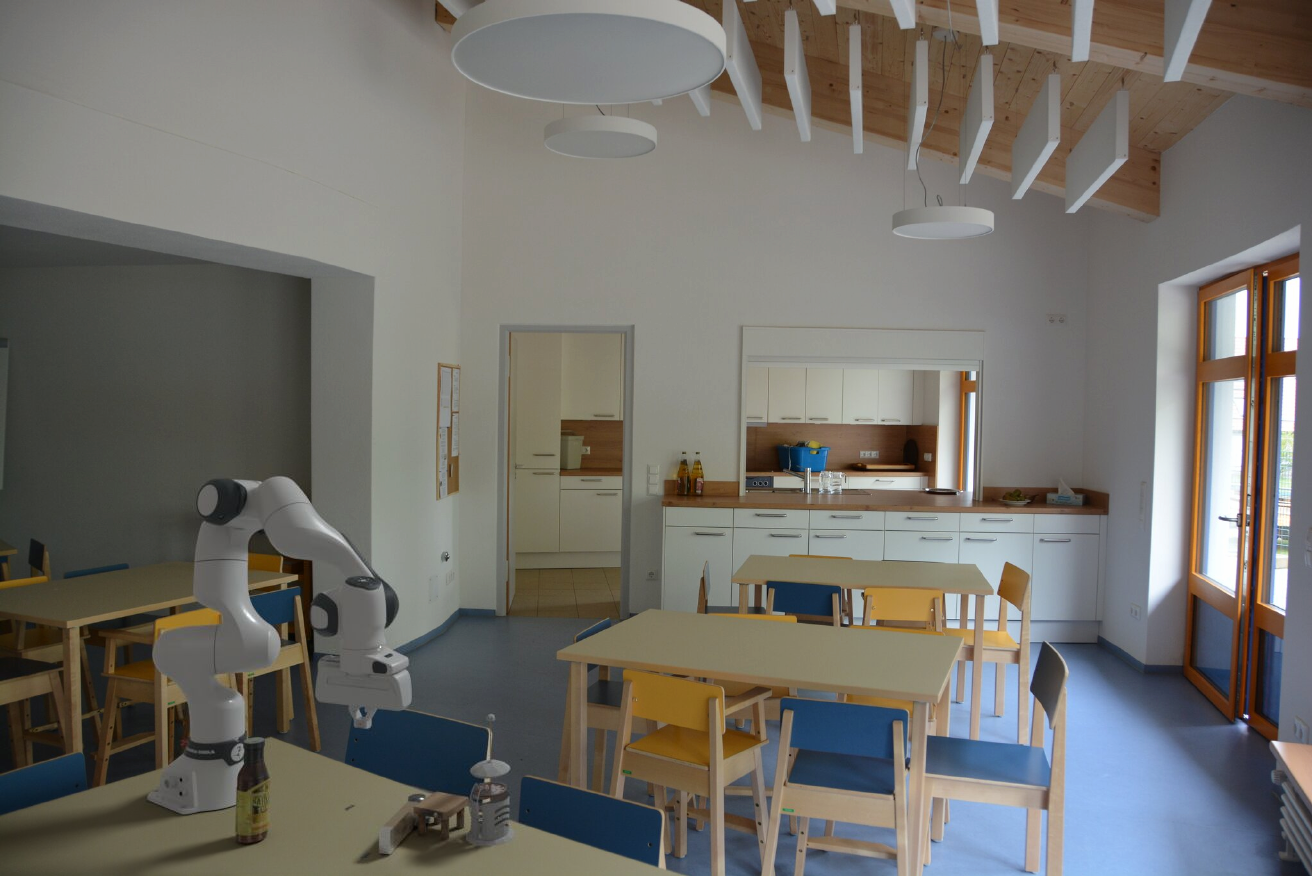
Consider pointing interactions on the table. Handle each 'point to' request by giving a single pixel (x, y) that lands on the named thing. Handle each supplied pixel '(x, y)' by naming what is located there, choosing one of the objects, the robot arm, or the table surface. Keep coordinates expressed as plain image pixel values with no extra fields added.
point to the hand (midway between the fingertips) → (362, 727)
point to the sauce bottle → (252, 794)
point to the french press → (489, 803)
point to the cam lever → (400, 825)
